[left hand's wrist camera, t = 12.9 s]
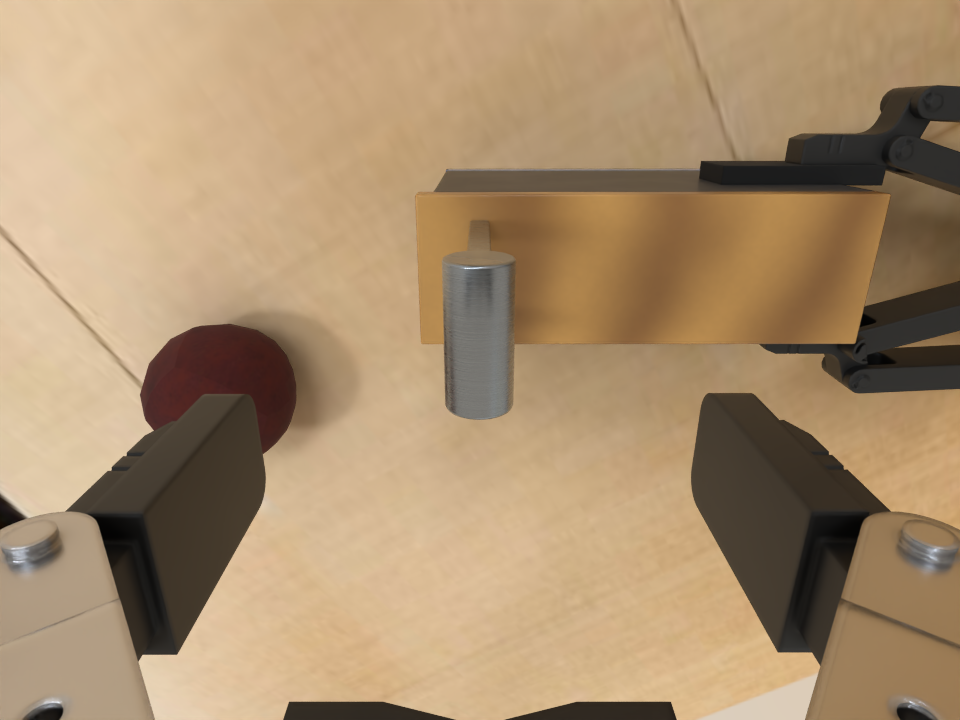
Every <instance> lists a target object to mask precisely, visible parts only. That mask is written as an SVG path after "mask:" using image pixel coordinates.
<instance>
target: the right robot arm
mask: <svg viewBox="0 0 960 720" xmlns="http://www.w3.org/2000/svg"><path fill="white" fill-rule="evenodd" d="M880 110H881V114H880V116H879V118H878V120H877V121H876V123H875V124H874V125H873V126H872V127H871V128H870V129H869V130H867V131H865V132H863V133H858V134H799V135H797V136H794V137H792V138H789V141H788V147H787V152H786V158H785V161H701V166H700V174H699V178H700V179H703V180H706V181H710V182H713V183H717V184H720V185H882V182H883V178H884V174H885V170H887V171H890V172H893V173H896V174H899V175H902V176H905V177H908V178H911V179H914V180H917V181H920V182H923V183H926V184H929V185H932V186H935V187H938V188H941V189H944V190H947V191H950V192H953V193H956V194H959V195H960V152H958V151H955V150H952V149H949V148H946V147H943V146H940V145H937V144H935V143H932V142H929V141H926V140H923V139H920V137H921V135H922V134H923V132H924V130H925V129H926V127H927V125H928V124H929V122H930V121H943V122H960V87H959V86H940V85H937V86H920V87H905V88H895V89H892V90H890V91H888V92H887V93H886V94H885V95H884V97H883V98H882V101H881V104H880ZM956 331H960V281H958V282H955V283H951V284H947V285H943V286H940V287H936V288H932V289H929V290H925V291H921V292H917V293H914V294H910V295H906V296H902V297H899V298H895V299H891V300H888V301H884V302H880V303H876V304H873V305H869V306H865V307H864V309H863V314H862V318H861V322H860V326H859V330H858V334H857V338H856V343H855V344H760V345H761V346H762V347H763V348H764V349H766V350H768V351H771V352H773V353H776V354H787V353H789V354H796V353H798V354H824V355H825V357H824V358H823V360H822V368H823V369H824V371H826V372H827V373H828V374H830V375H831V376H832V377H834V378H835V379H836V380H838V381H839V382H840V383H842V384H843V385H844V386H846V387H847V388H849V389H850V390H851V391H853V392H855V393H878V392H900V391H922V390H944V389H960V345H947V346H926V347H904V348H895V347H899V346H902V345H906V344H910V343H914V342H918V341H922V340H925V339H929V338H933V337H937V336H941V335H945V334H949V333H952V332H956Z"/></svg>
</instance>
